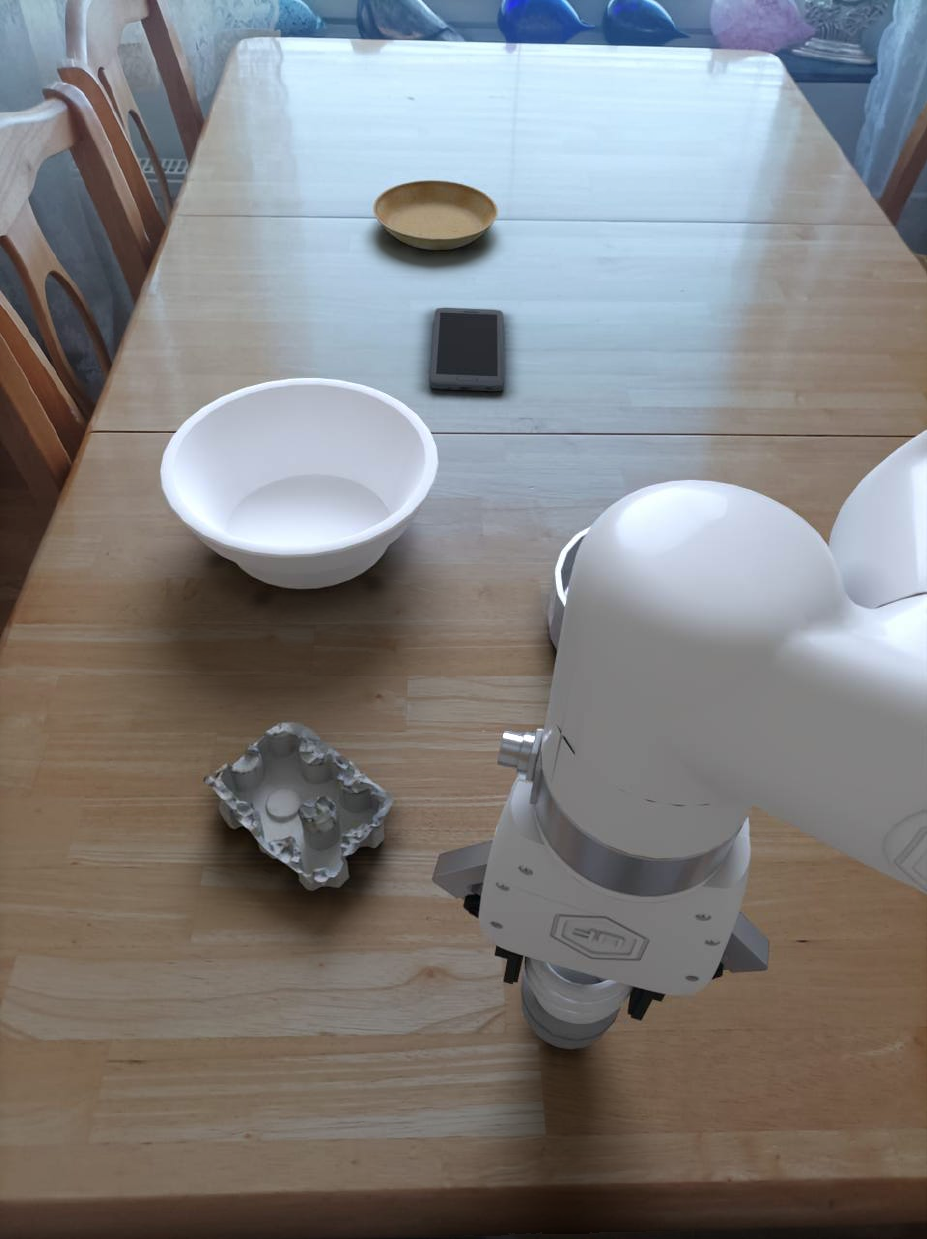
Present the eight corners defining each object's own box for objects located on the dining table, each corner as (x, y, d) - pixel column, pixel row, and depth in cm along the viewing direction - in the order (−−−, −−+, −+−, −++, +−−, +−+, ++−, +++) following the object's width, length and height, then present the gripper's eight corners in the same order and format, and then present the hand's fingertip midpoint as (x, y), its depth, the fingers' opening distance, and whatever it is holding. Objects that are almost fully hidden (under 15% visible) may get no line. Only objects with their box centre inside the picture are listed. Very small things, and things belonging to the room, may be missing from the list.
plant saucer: (504, 208, 117) (506, 187, 115) (486, 266, 107) (487, 244, 105) (389, 194, 118) (389, 174, 116) (360, 251, 109) (359, 229, 107)
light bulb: (540, 1088, 50) (565, 1012, 41) (495, 990, 54) (509, 900, 45) (630, 1043, 52) (674, 961, 43) (581, 952, 55) (612, 857, 46)
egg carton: (205, 808, 61) (192, 775, 58) (291, 736, 64) (284, 701, 61) (319, 913, 56) (312, 882, 53) (404, 828, 60) (403, 795, 57)
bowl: (159, 484, 81) (137, 405, 75) (389, 433, 87) (387, 357, 80) (210, 663, 68) (189, 586, 62) (476, 590, 74) (481, 513, 68)
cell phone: (429, 389, 91) (429, 382, 91) (434, 312, 100) (434, 306, 100) (504, 392, 91) (504, 385, 91) (503, 315, 100) (503, 308, 100)
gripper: (380, 818, 33) (392, 998, 47) (885, 949, 30) (741, 1099, 44) (439, 658, 38) (435, 863, 51) (879, 760, 35) (751, 948, 49)
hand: (577, 971), depth 48 cm, fingers closed on light bulb, 5 cm apart
